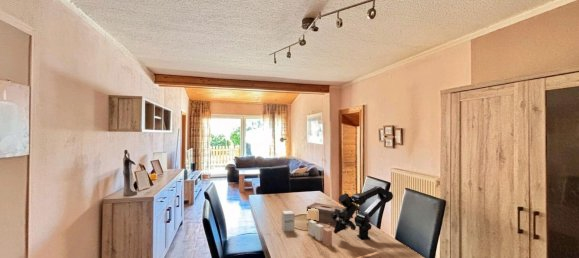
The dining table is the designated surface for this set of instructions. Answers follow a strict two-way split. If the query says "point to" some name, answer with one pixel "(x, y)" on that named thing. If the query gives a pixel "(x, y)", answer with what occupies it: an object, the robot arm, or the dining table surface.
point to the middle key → (319, 232)
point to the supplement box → (288, 220)
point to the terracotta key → (327, 236)
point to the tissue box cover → (325, 212)
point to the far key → (311, 227)
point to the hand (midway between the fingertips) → (334, 232)
